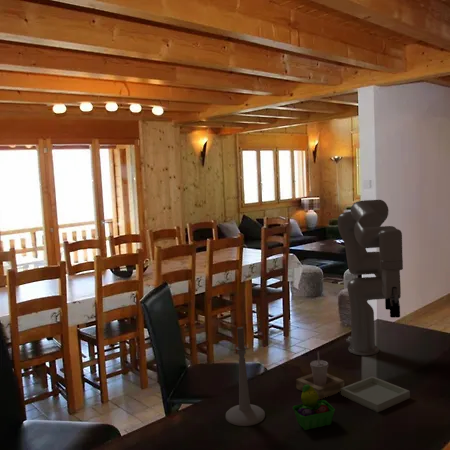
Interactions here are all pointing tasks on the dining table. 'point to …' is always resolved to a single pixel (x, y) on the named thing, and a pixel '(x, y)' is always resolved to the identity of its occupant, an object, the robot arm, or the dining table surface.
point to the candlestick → (244, 393)
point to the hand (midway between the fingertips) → (392, 313)
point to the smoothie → (319, 371)
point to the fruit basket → (313, 410)
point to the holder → (323, 391)
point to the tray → (375, 393)
